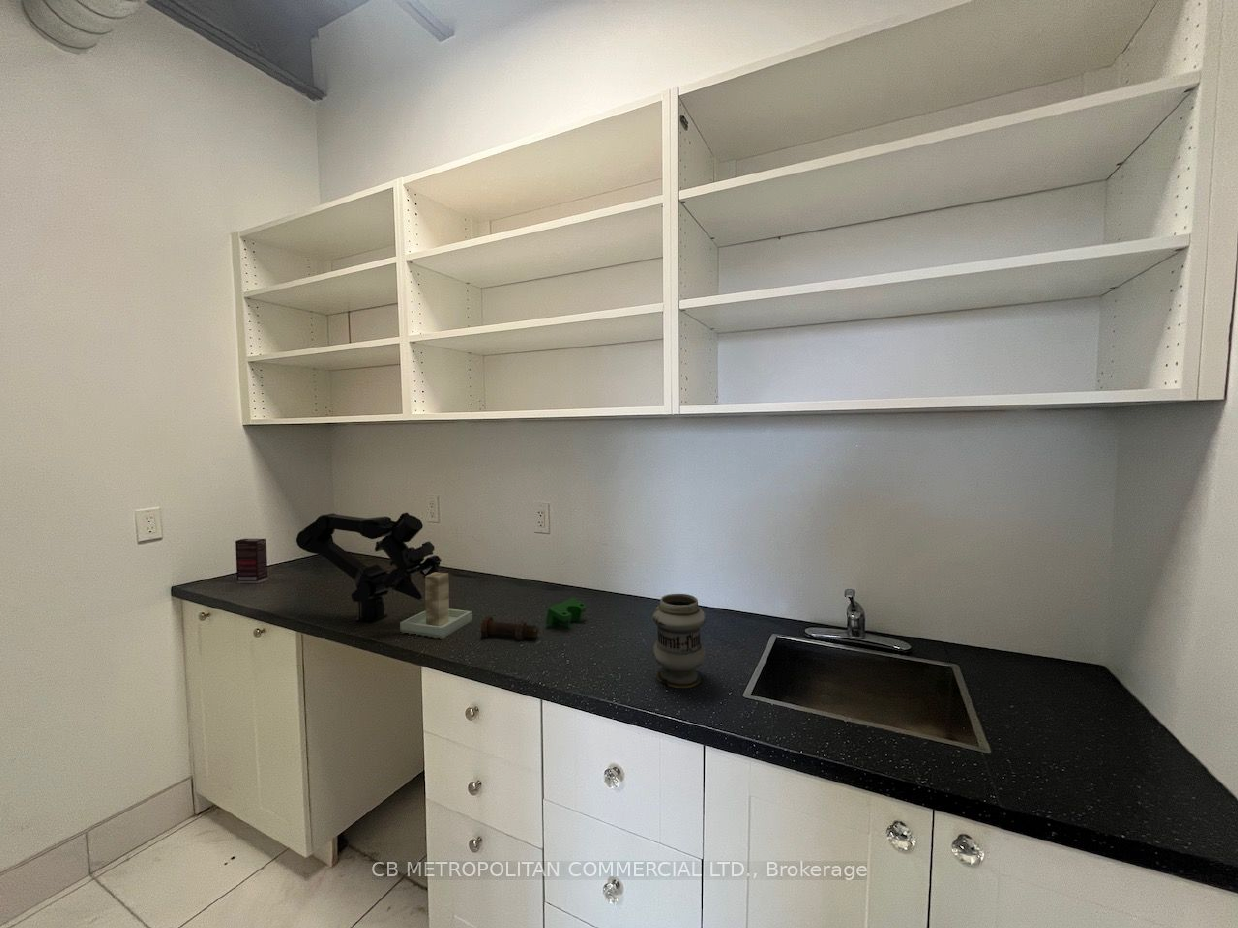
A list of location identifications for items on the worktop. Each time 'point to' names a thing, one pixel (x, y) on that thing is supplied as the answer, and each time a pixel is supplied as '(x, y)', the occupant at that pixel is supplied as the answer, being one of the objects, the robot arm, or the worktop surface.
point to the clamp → (565, 613)
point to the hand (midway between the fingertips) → (431, 593)
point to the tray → (419, 626)
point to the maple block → (437, 599)
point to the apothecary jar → (679, 640)
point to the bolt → (508, 629)
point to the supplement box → (251, 560)
